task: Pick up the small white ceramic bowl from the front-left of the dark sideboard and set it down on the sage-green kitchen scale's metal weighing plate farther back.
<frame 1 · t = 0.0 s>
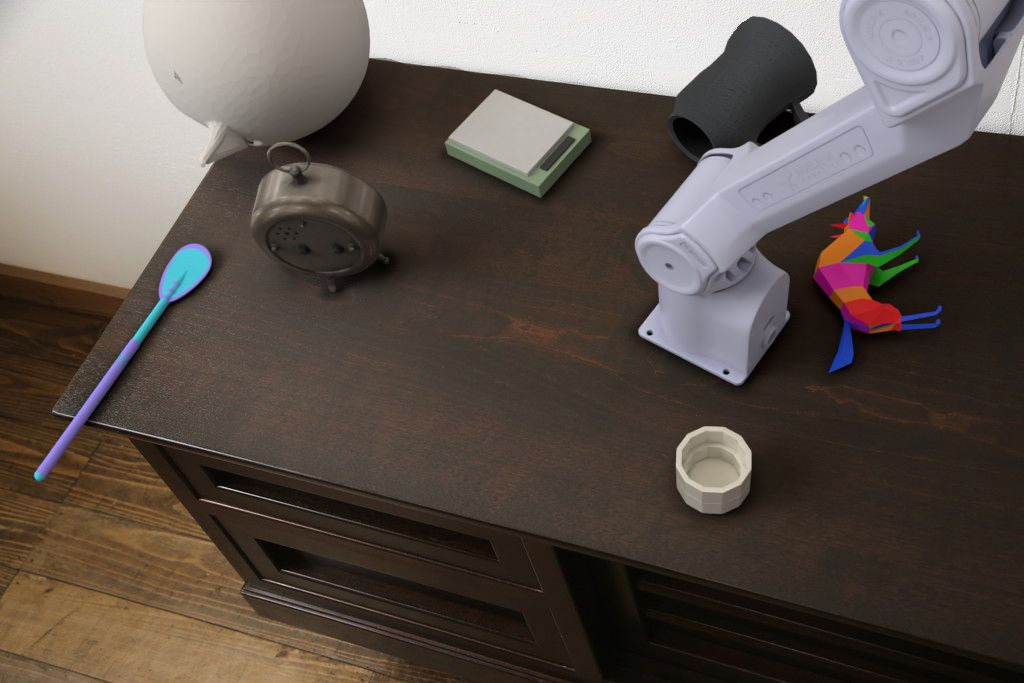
bowl: (713, 484, 79), on the sideboard
scale: (518, 148, 101), on the sideboard
spoon: (125, 351, 92), point 2 cm above the sideboard
alarm clock: (340, 274, 96), on the sideboard
mug: (788, 68, 96), point 4 cm above the sideboard
figurine: (929, 265, 84), point 3 cm above the sideboard
mask: (341, 30, 108), point 4 cm above the sideboard
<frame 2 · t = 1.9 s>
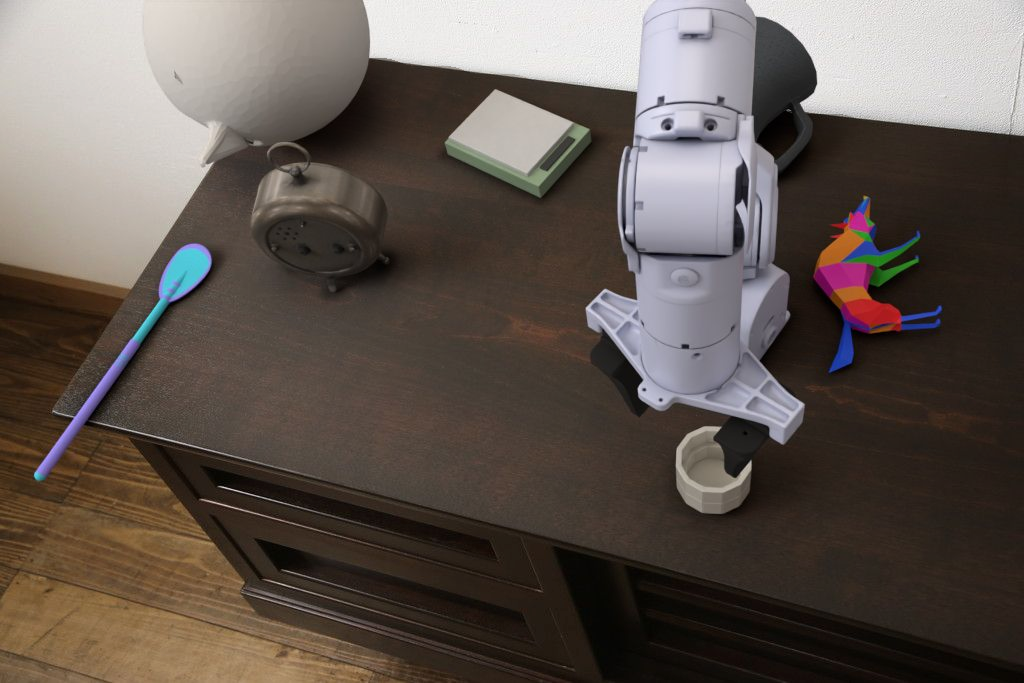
hand: (691, 434, 71), 9 cm above the sideboard, tool pointing down, fingers open, 7 cm apart
nothing on the sideboard moved.
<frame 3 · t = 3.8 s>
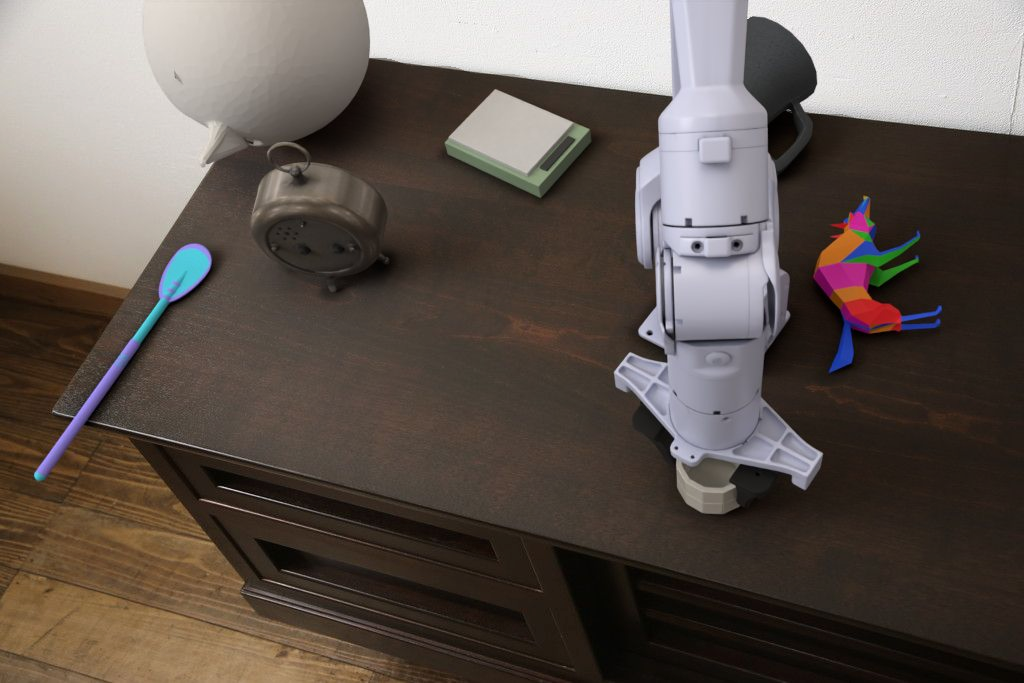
hand: (713, 475, 78), 1 cm above the sideboard, tool pointing down, fingers closed on bowl, 5 cm apart
bowl: (713, 484, 79), on the sideboard, touching gripper
everything else where it was.
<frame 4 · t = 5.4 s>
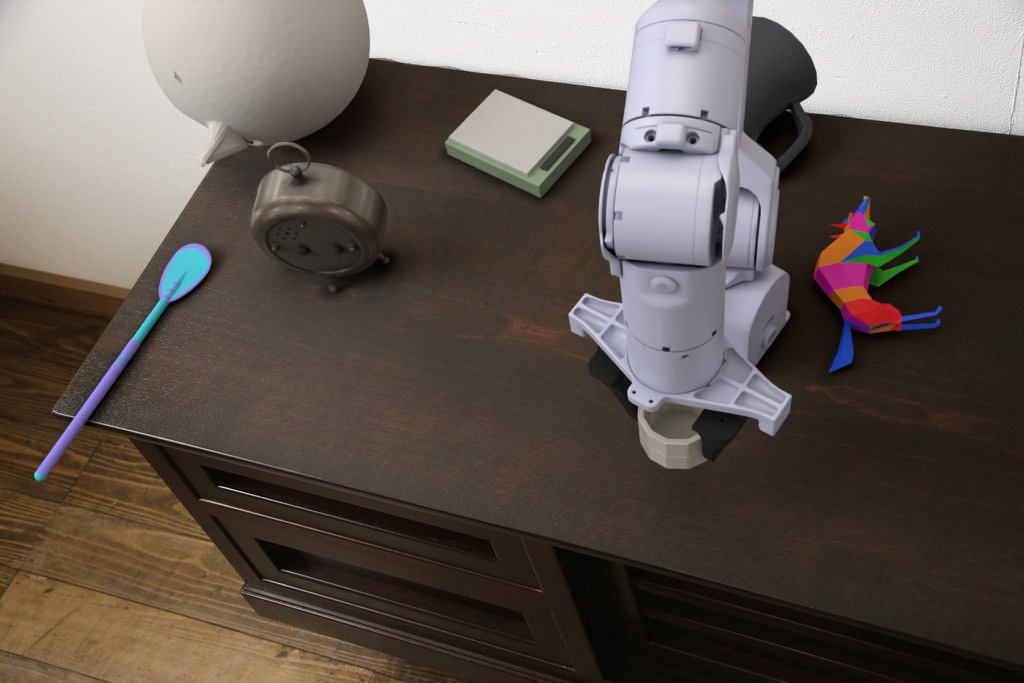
hand: (678, 428, 73), 8 cm above the sideboard, tool pointing down, fingers closed on bowl, 5 cm apart
bowl: (679, 438, 74), point 7 cm above the sideboard, touching gripper
everything else where it was.
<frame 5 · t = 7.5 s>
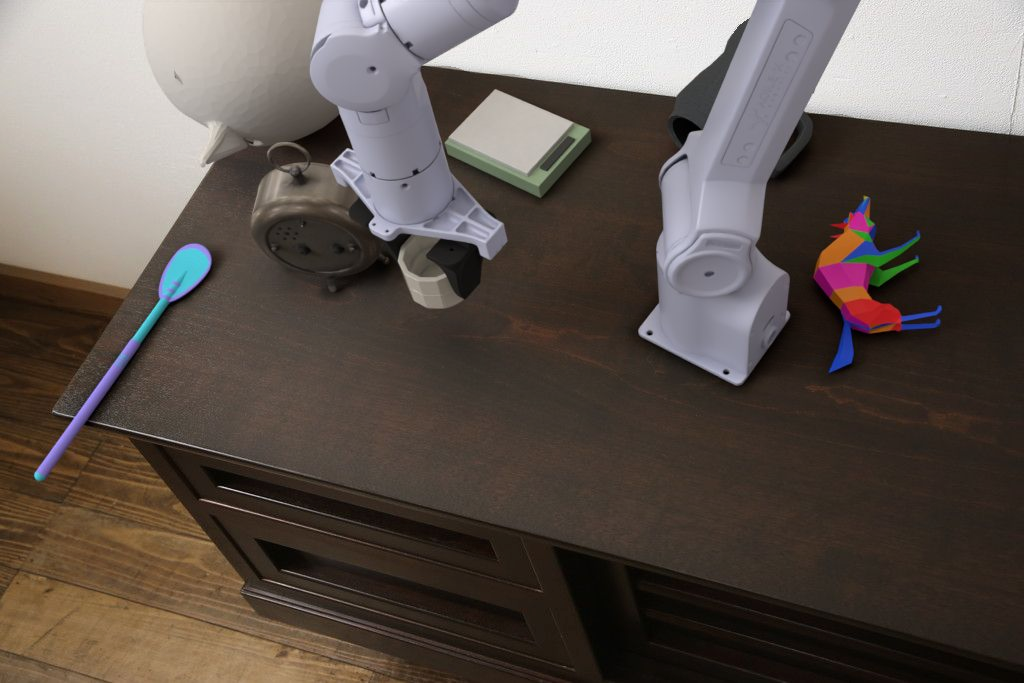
hand: (439, 273, 83), 8 cm above the sideboard, tool pointing down, fingers closed on bowl, 5 cm apart
bowl: (443, 285, 84), point 7 cm above the sideboard, touching gripper
everything else where it was.
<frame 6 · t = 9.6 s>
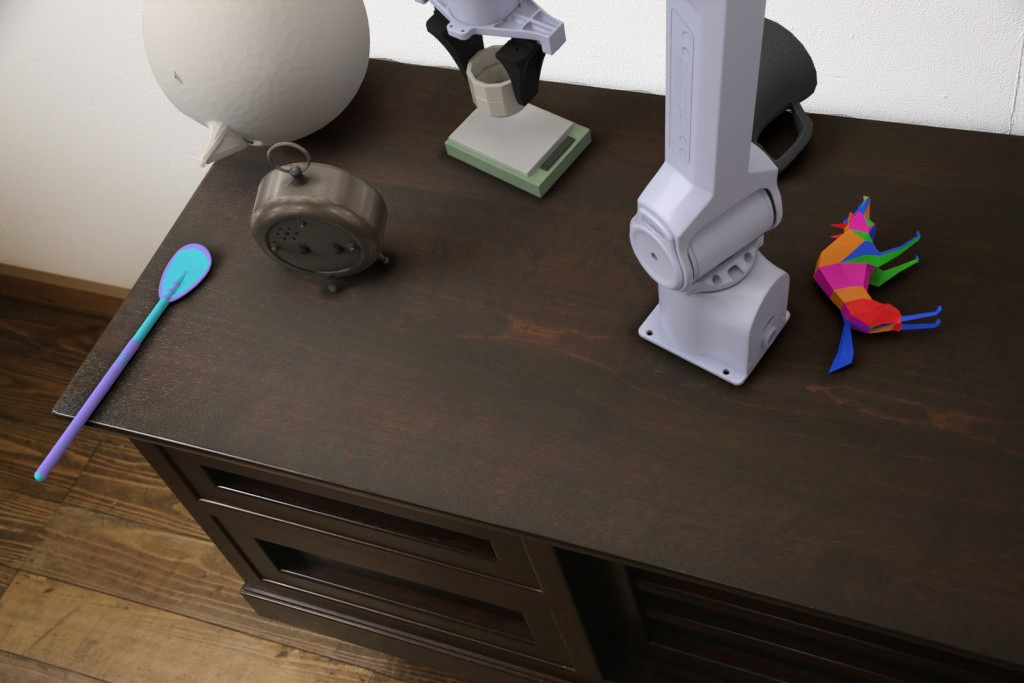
hand: (501, 86, 95), 7 cm above the sideboard, tool pointing down, fingers closed on bowl, 5 cm apart
bowl: (503, 99, 96), point 6 cm above the sideboard, touching gripper
everything else where it was.
when the fingers open (3 cm above the sideboard, at t = 11.2 s): bowl stays where it is, resting on scale.
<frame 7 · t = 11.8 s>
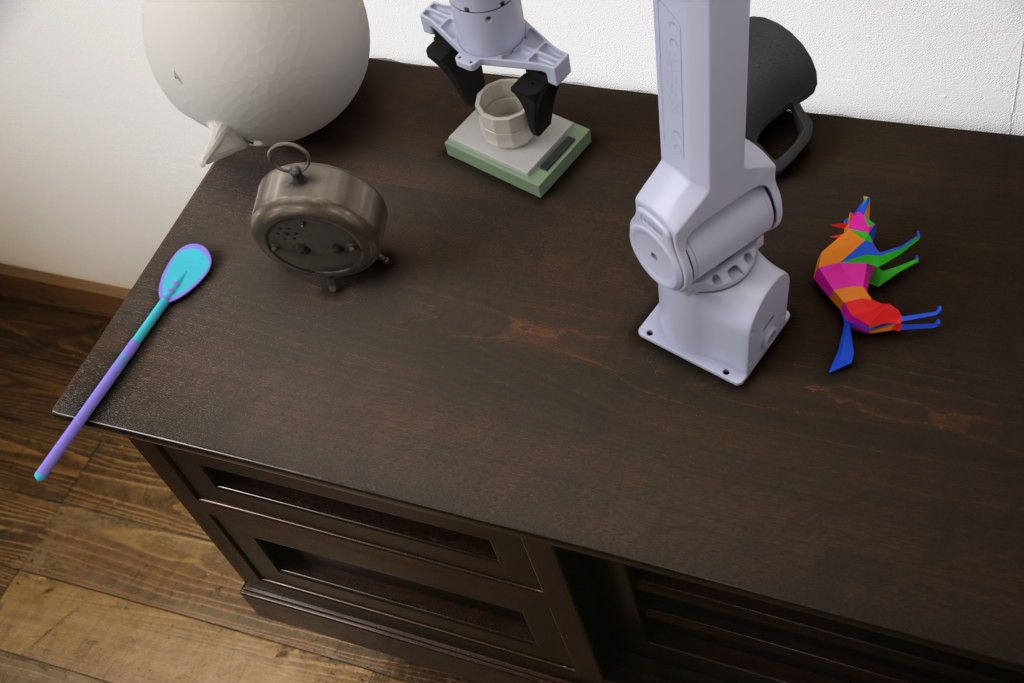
hand: (508, 113, 98), 4 cm above the sideboard, tool pointing down, fingers open, 7 cm apart
bowl: (511, 131, 99), point 2 cm above the sideboard, touching scale
everything else where it was.
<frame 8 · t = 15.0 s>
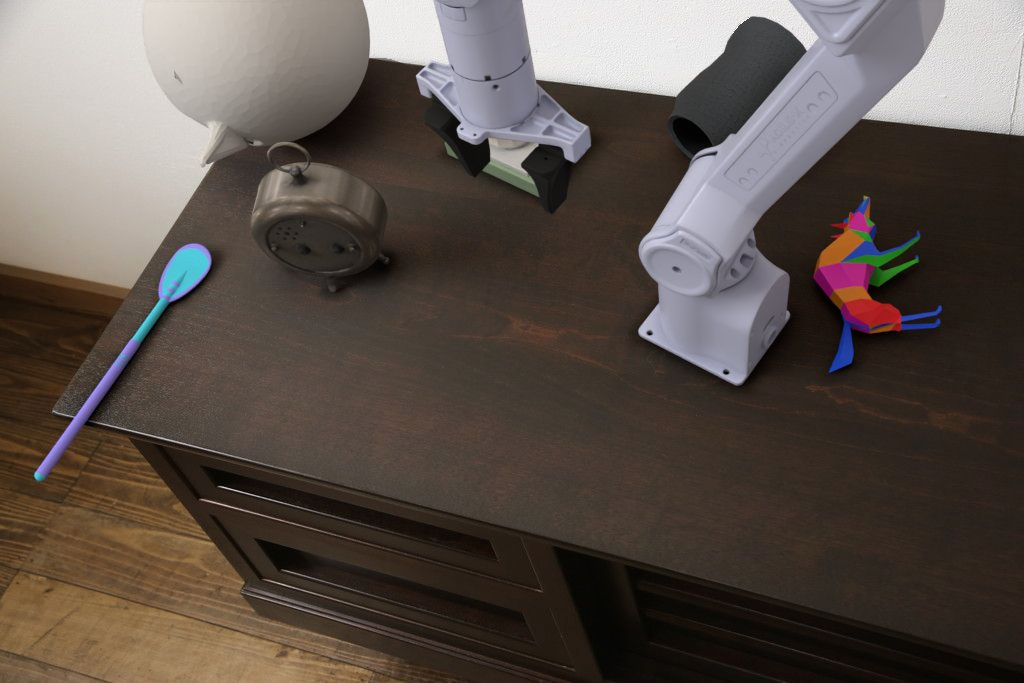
hand: (517, 186, 85), 9 cm above the sideboard, tool pointing down, fingers open, 7 cm apart
nothing on the sideboard moved.
at the end: bowl 0.1 cm off-centre on the scale, point 2.1 cm above the scale's base; bowl tilted 0° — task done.
